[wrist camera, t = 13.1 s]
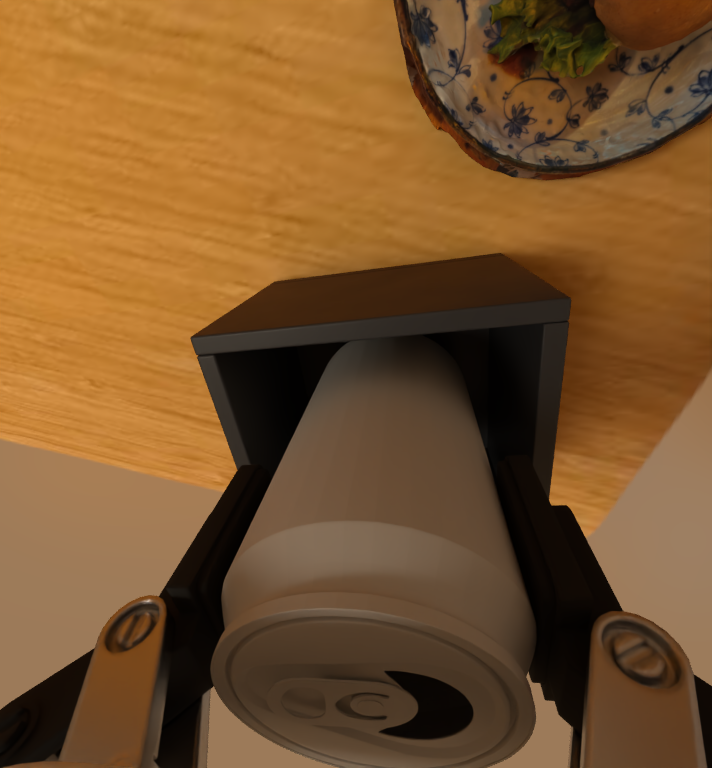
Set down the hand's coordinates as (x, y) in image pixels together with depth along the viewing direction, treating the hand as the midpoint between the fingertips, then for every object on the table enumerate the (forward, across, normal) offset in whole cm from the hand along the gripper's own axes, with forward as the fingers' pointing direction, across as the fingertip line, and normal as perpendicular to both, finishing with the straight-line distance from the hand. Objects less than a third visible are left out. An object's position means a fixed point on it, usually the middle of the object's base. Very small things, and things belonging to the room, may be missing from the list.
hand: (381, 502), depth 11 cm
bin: (+9, 0, 0) cm, 9 cm away
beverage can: (+7, 0, 0) cm, 7 cm away
